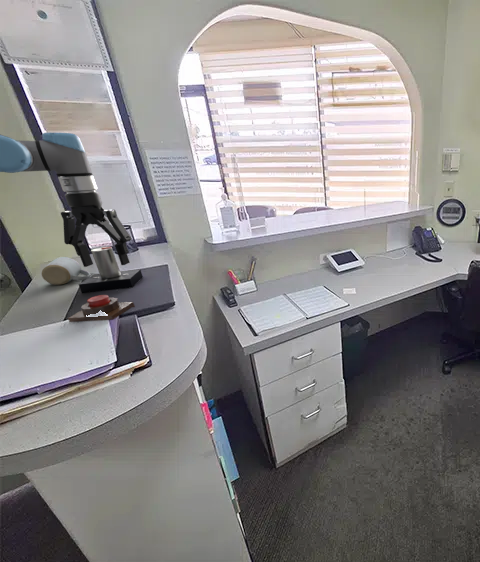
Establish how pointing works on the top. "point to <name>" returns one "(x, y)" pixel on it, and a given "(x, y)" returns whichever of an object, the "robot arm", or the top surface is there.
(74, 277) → the ceramic mug
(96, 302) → the power button
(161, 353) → the top surface
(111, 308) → the button block
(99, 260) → the silver cylinder
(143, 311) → the top surface
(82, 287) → the panel
